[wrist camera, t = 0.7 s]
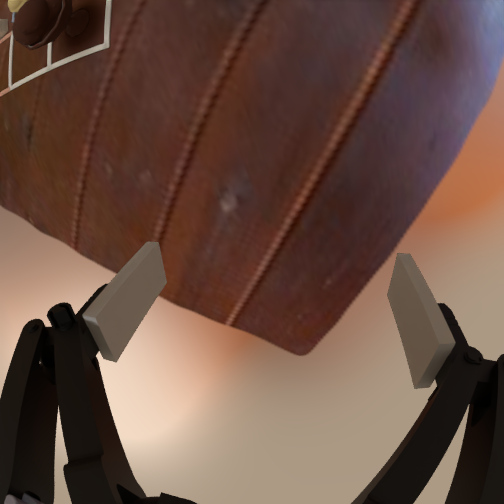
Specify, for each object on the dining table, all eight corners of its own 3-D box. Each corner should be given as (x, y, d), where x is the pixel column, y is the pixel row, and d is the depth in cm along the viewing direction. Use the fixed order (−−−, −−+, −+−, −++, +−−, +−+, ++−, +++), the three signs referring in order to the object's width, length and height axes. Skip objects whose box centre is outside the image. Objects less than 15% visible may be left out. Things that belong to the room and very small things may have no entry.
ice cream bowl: (97, -15, 26) (38, -33, 13) (105, 31, 31) (39, 21, 18) (54, 16, 29) (-5, 11, 16) (61, 61, 34) (-3, 64, 21)
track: (-17, 54, 32) (-17, 54, 31) (114, -25, 26) (113, -26, 25) (-18, 107, 39) (-18, 108, 38) (109, 47, 33) (108, 47, 32)
